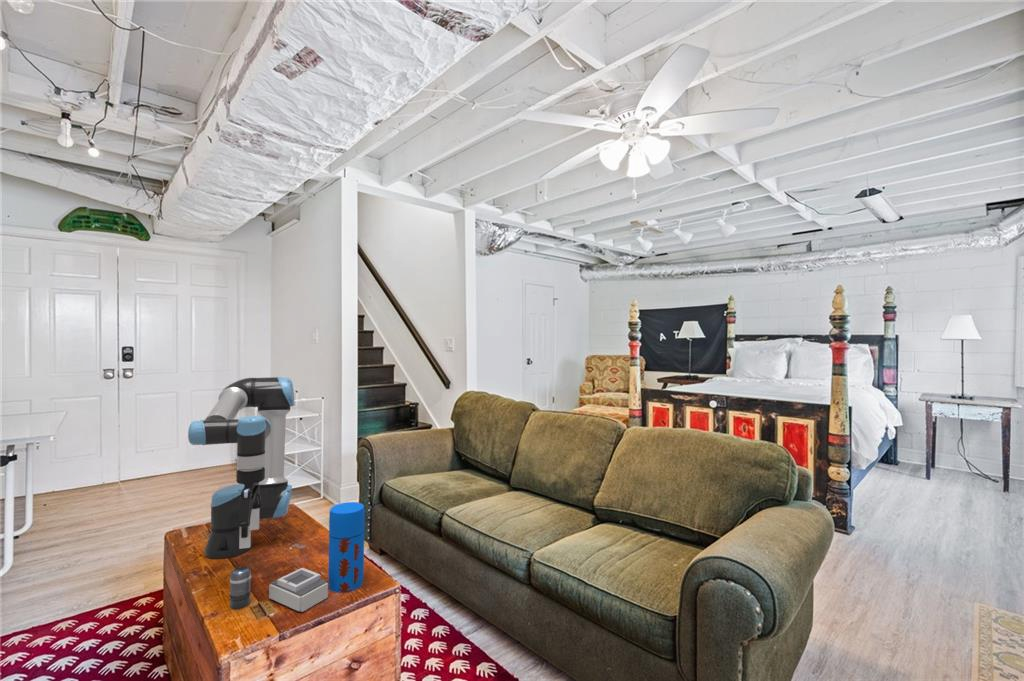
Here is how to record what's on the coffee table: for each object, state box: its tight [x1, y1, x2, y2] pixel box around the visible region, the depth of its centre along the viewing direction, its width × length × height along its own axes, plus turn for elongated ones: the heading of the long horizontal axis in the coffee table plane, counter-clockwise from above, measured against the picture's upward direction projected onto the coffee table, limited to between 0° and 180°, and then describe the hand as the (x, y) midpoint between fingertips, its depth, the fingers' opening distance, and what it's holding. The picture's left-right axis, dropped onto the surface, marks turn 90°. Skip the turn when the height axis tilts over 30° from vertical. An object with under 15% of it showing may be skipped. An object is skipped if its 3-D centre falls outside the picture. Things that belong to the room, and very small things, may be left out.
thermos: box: [327, 501, 366, 594], centre depth 151 cm, size 11×11×25 cm
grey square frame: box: [268, 567, 329, 613], centre depth 142 cm, size 15×10×7 cm, turn 61°
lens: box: [229, 566, 252, 611], centre depth 138 cm, size 6×6×10 cm
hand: (249, 538), depth 140 cm, fingers open, 13 cm apart
